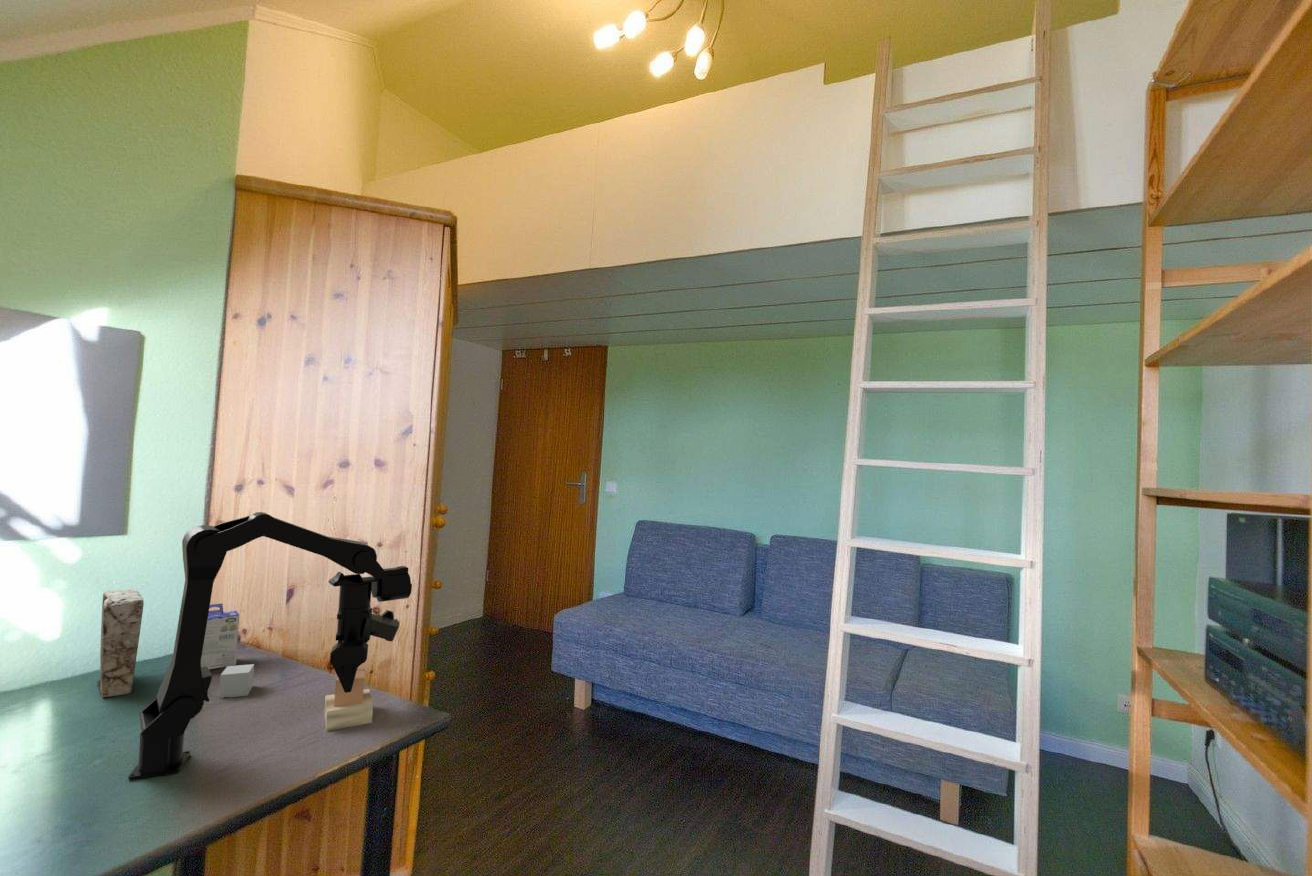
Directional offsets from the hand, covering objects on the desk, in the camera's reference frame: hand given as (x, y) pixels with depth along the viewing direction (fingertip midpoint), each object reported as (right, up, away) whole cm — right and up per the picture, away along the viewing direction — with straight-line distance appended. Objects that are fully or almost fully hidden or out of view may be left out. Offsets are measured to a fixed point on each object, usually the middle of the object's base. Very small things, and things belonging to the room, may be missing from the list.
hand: (349, 683), depth 117 cm
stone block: (-55, -5, +8) cm, 56 cm away
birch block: (0, -7, 0) cm, 7 cm away
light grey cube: (-29, -6, +9) cm, 31 cm away
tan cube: (0, -3, 0) cm, 3 cm away
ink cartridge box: (-45, -6, +22) cm, 50 cm away
